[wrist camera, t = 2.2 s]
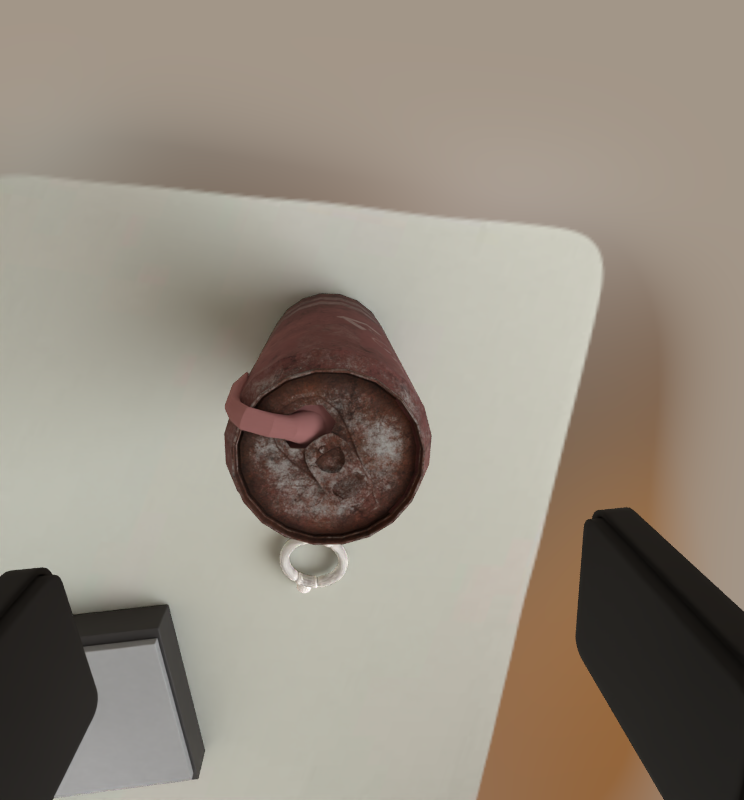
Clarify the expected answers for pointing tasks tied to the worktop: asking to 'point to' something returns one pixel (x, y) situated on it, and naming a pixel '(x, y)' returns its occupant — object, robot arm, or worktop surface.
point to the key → (309, 581)
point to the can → (327, 426)
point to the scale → (135, 705)
